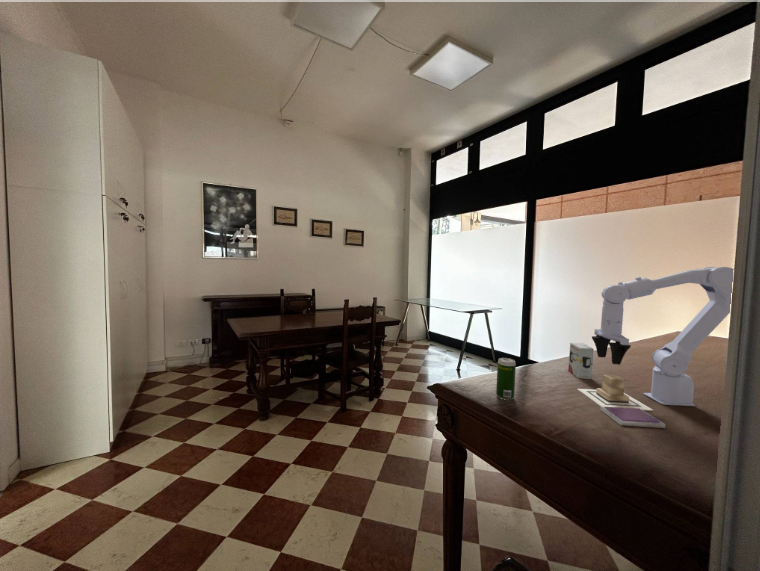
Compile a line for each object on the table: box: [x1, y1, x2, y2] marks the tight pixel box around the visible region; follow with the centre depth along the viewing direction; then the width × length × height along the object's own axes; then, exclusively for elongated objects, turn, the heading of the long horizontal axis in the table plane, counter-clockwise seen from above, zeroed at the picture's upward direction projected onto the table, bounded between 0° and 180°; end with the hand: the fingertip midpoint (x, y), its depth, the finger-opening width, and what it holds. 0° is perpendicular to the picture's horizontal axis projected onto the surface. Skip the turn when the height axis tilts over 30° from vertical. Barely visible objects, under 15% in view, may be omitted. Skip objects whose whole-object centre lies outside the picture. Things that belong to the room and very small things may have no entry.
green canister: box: [495, 357, 517, 401], centre depth 99 cm, size 5×5×12 cm
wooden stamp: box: [596, 374, 630, 403], centre depth 98 cm, size 6×6×7 cm
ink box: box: [567, 342, 595, 380], centre depth 120 cm, size 9×5×12 cm, turn 172°
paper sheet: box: [576, 388, 654, 412], centre depth 99 cm, size 14×14×1 cm
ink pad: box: [599, 406, 666, 429], centre depth 86 cm, size 11×9×1 cm
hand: (608, 360), depth 105 cm, fingers open, 7 cm apart
